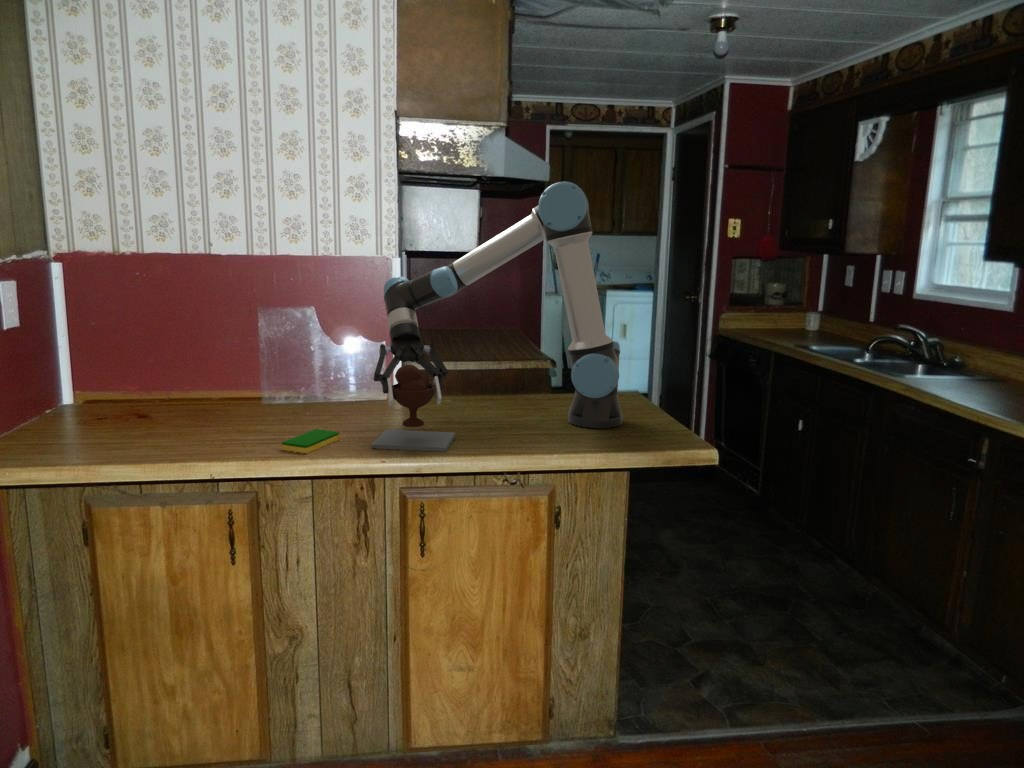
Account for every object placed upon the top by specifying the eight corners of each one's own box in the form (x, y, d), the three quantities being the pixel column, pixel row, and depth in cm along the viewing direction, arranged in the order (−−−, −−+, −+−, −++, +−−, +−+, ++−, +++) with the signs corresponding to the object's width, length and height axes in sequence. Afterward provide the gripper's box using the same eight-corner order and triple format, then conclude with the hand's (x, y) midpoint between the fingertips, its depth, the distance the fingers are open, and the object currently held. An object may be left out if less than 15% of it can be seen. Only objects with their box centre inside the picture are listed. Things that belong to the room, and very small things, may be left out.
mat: (455, 436, 190) (455, 432, 190) (445, 451, 176) (445, 447, 176) (385, 433, 192) (385, 429, 191) (371, 448, 178) (371, 444, 178)
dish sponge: (281, 452, 175) (280, 442, 174) (315, 437, 188) (315, 428, 187) (306, 455, 173) (306, 445, 172) (340, 441, 185) (339, 431, 185)
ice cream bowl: (428, 431, 177) (428, 369, 174) (383, 428, 179) (383, 366, 176) (441, 420, 187) (441, 362, 184) (399, 417, 189) (398, 359, 186)
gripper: (446, 338, 197) (459, 408, 186) (356, 339, 190) (365, 413, 179) (451, 320, 191) (465, 391, 180) (358, 321, 184) (367, 396, 173)
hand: (415, 402), depth 179 cm, fingers closed on ice cream bowl, 11 cm apart
